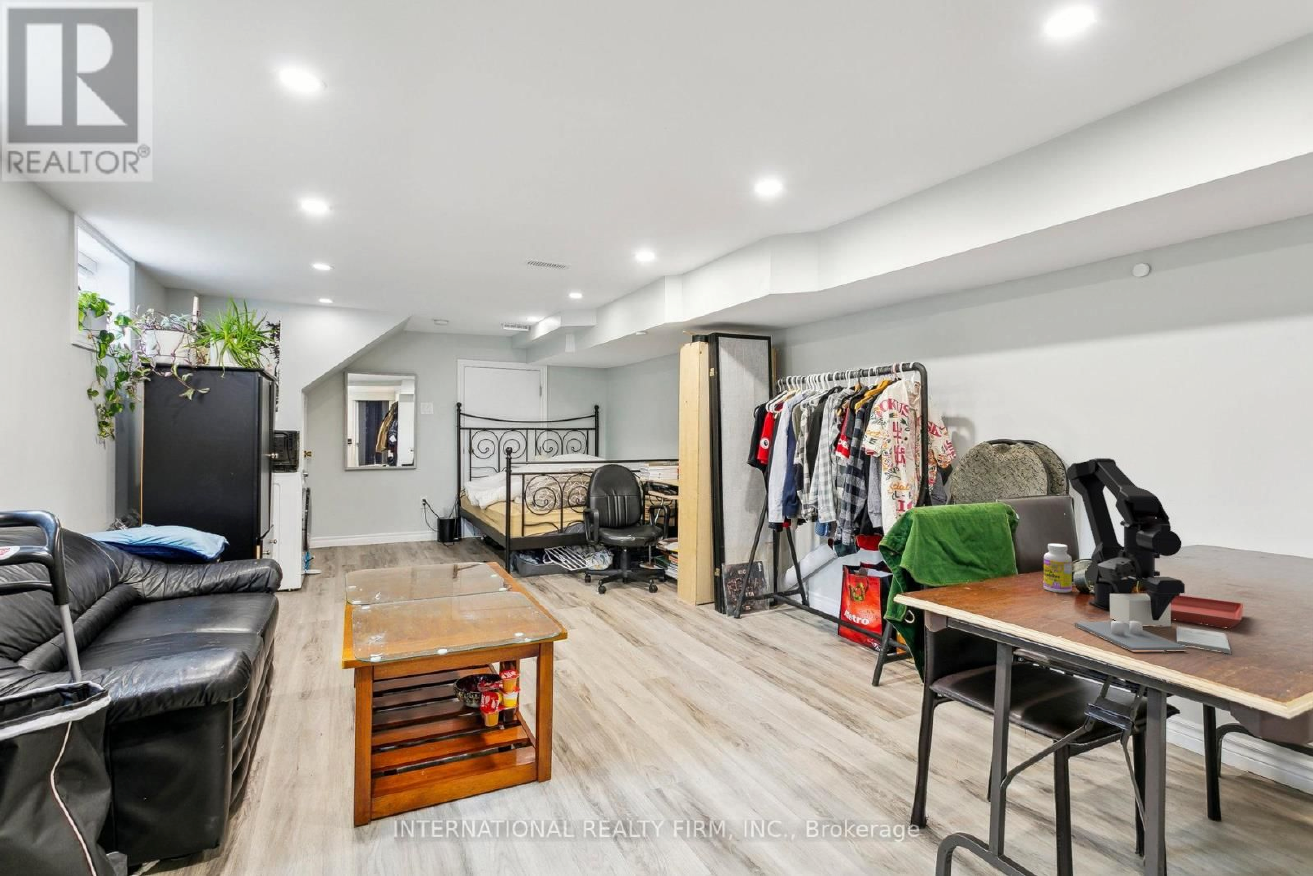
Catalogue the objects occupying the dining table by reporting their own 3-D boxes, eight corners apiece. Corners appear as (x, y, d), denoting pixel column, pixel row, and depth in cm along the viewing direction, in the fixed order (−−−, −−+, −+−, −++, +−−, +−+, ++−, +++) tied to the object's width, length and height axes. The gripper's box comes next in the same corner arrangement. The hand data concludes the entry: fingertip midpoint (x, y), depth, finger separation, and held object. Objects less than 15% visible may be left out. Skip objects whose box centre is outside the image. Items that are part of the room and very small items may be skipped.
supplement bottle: (1038, 588, 176) (1037, 543, 176) (1055, 586, 178) (1055, 542, 178) (1059, 594, 170) (1059, 547, 170) (1077, 592, 172) (1077, 546, 172)
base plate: (1074, 626, 141) (1074, 611, 141) (1122, 626, 141) (1122, 610, 141) (1132, 652, 124) (1132, 635, 124) (1186, 652, 124) (1186, 634, 124)
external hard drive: (1177, 648, 128) (1176, 632, 138) (1230, 657, 123) (1226, 640, 133) (1177, 640, 128) (1176, 625, 138) (1230, 648, 123) (1226, 633, 133)
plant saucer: (1138, 617, 149) (1138, 604, 149) (1148, 603, 162) (1148, 590, 162) (1241, 634, 136) (1241, 619, 136) (1243, 616, 149) (1243, 603, 149)
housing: (1129, 626, 141) (1129, 600, 141) (1109, 618, 147) (1109, 593, 147) (1170, 626, 141) (1170, 600, 141) (1149, 618, 147) (1149, 593, 147)
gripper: (1077, 541, 153) (1077, 603, 153) (1136, 556, 135) (1136, 627, 135) (1121, 540, 153) (1122, 603, 153) (1186, 555, 135) (1187, 626, 135)
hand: (1139, 614), depth 144 cm, fingers open, 9 cm apart
